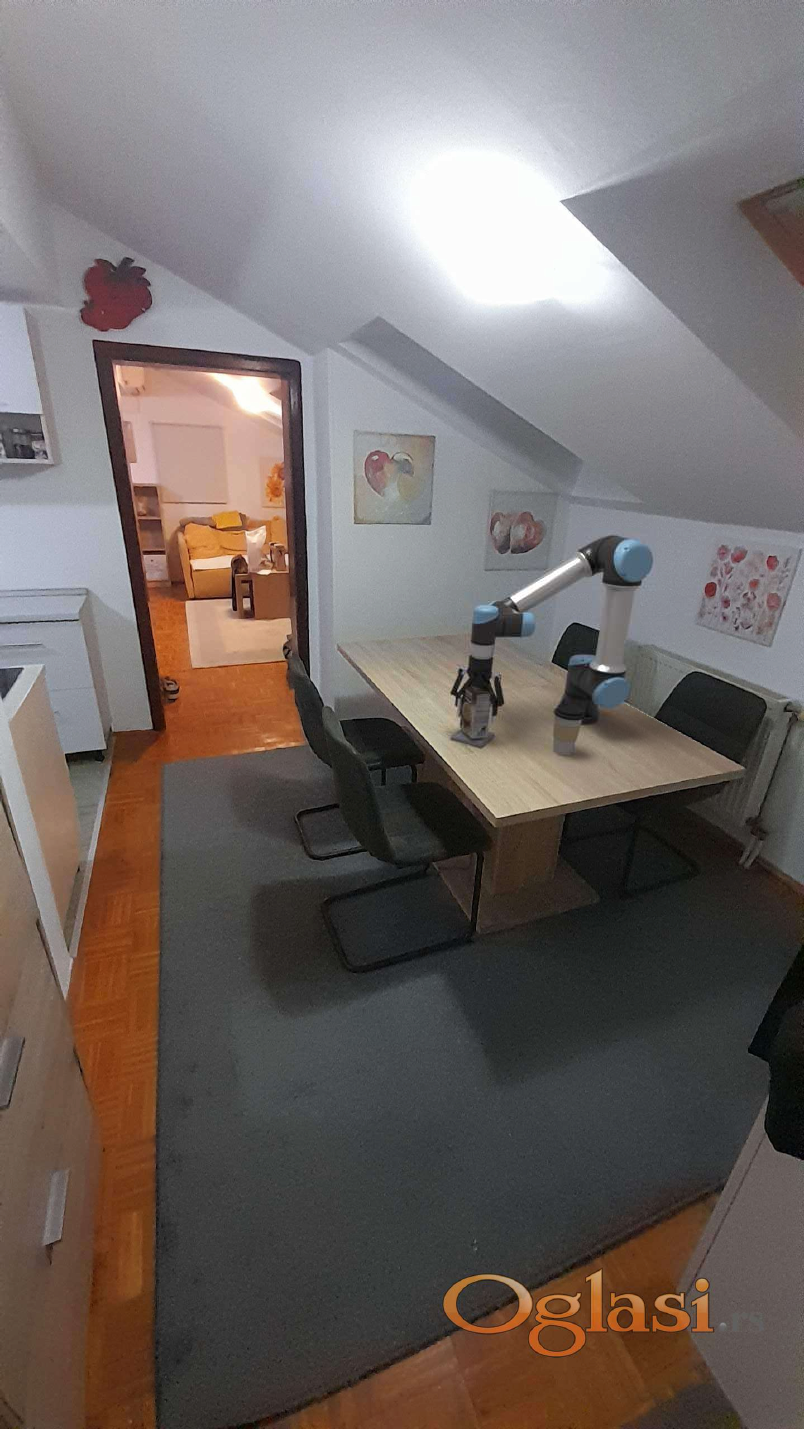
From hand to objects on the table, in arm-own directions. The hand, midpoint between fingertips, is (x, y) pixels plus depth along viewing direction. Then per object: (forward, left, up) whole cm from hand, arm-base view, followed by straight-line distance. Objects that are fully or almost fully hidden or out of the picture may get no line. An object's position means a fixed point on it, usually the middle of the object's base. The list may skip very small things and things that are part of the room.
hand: (474, 720), depth 192 cm
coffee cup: (-28, -8, -7) cm, 30 cm away
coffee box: (0, 0, -5) cm, 5 cm away
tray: (0, 0, -6) cm, 6 cm away
